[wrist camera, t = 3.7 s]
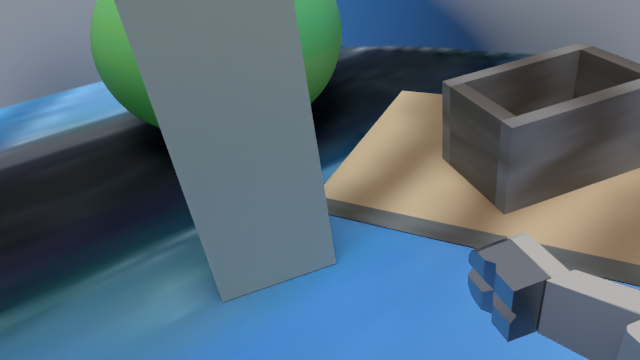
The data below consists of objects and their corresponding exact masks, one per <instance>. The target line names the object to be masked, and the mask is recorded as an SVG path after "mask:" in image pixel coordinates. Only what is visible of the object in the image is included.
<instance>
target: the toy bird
mask: <svg viewBox="0 0 640 360" xmlns="http://www.w3.org/2000/svg"><path fill="white" fill-rule="evenodd" d="M294 5H295V11H296V18H297V24H298V30H299V36H300V42H301V48H302V55H303V61H304V67H305V73H306V79H307V85H308V92H309V98H310V104H311V103H312V102H313V101H314V100H315V99H316V98H317V97H318V96H319V95H320V93H321V92H322V91H323V90H324V88H325V87H326V85H327V84H328V82H329V80H330V78H331V76H332V74H333V72H334V69H335V67H336V64H337V61H338V57H339V53H340V47H341V21H340V14H339V10H338V6H337V3H336V0H294ZM90 31H91V32H90V39H91V50H92V55H93V59H94V62H95V65H96V68H97V70H98V72H99V75H100V77H101V79H102V80H103V82H104V84H105V85H106V87H107V88H108V90H109V91H110V92H111V94H112V95H113V96H114V97H115V98H116V99H117V101H118V102H119V103H120V104H121V105H123V106H124V107H125V108H126V109H127V110H128V111H130V112H131V113H132V114H134V115H135V116H137V117H138V118H140V119H142V120H143V121H145V122H147V123H149V124H151V125H154V126H156V127H158V128H160V127H159V124H158V121H157V118H156V116H155V113H154V110H153V107H152V104H151V102H150V99H149V96H148V93H147V91H146V88H145V85H144V82H143V80H142V77H141V74H140V71H139V68H138V66H137V63H136V60H135V57H134V55H133V52H132V49H131V46H130V43H129V41H128V38H127V35H126V32H125V30H124V27H123V24H122V21H121V19H120V16H119V13H118V10H117V7H116V5H115V2H114V0H97V2H96V5H95V8H94V12H93V16H92V21H91V30H90Z"/></svg>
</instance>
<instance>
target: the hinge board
mask: <svg viewBox="0 0 640 360" xmlns="http://www.w3.org/2000/svg"><path fill="white" fill-rule="evenodd" d="M324 190H325V196H326V202H327V209H328V214H330V215H334V216H338V217H343V218H347V219H351V220H356V221H360V222H364V223H369V224H373V225H377V226H382V227H386V228H390V229H395V230H399V231H403V232H408V233H412V234H416V235H421V236H425V237H429V238H434V239H438V240H442V241H447V242H451V243H455V244H460V245H464V246H468V247H473V248H480V247H483V246H486V245H488V244H491V243H494V242H496V241H499V240H502V239H506V238H508V237H511V236H514V235H516V234H519V233H522V232H525V233H527V234H529V235H530V236H531V237H532V238H533V239H534V240H536V241H537V242H538V243H539V244H540V245H541V246H542V247H543V248H545V249H546V250H547V251H548V252H549V253H550V254H551V255H552V256H554V257H555V258H556V259H557V260H558V261H559V262H560V263H561V264H562V265H564V266H565V267H566V268H567V269H568V270H578V271H581V272H584V273H587V274H590V275H594V276H599V277H603V278H607V279H612V280H616V281H620V282H625V283H629V284H633V285H638V286H640V64H638V63H636V62H633V61H630V60H628V59H625V58H623V57H620V56H617V55H615V54H612V53H609V52H607V51H604V50H602V49H599V48H596V47H594V46H591V45H589V44H586V43H583V42H581V43H577V44H574V45H570V46H567V47H563V48H560V49H556V50H553V51H549V52H545V53H542V54H538V55H535V56H531V57H527V58H524V59H520V60H517V61H513V62H510V63H506V64H503V65H499V66H495V67H492V68H488V69H485V70H481V71H478V72H474V73H471V74H467V75H463V76H460V77H456V78H453V79H449V80H446V81H442V94H431V93H421V92H410V91H402V92H401V93H400V94H399V95H398V97H397V98H396V99H395V100H394V101H393V103H392V104H391V105H390V106H389V107H388V109H387V110H386V111H385V112H384V113H383V115H382V116H381V117H380V118H379V119H378V121H377V122H376V123H375V124H374V125H373V127H372V128H371V129H370V130H369V131H368V133H367V134H366V135H365V136H364V137H363V139H362V140H361V141H360V142H359V144H358V145H357V146H356V147H355V148H354V150H353V151H352V152H351V153H350V154H349V156H348V157H347V158H346V159H345V160H344V162H343V163H342V164H341V165H340V166H339V168H338V169H337V170H336V171H335V172H334V174H333V175H332V176H331V177H330V178H329V180H328V181H327V182H326V183H325V184H324Z"/></svg>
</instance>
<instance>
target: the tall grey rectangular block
mask: <svg viewBox="0 0 640 360" xmlns="http://www.w3.org/2000/svg"><path fill="white" fill-rule="evenodd" d="M114 2H115V5H116V7H117V10H118V13H119V16H120V19H121V21H122V24H123V27H124V30H125V32H126V35H127V38H128V41H129V43H130V46H131V49H132V52H133V55H134V57H135V60H136V63H137V66H138V68H139V71H140V74H141V77H142V80H143V82H144V85H145V88H146V91H147V93H148V96H149V99H150V102H151V104H152V107H153V110H154V113H155V116H156V118H157V121H158V124H159V127H160V129H161V132H162V135H163V138H164V141H165V143H166V146H167V149H168V152H169V154H170V157H171V160H172V163H173V165H174V168H175V171H176V174H177V177H178V179H179V182H180V185H181V188H182V190H183V193H184V196H185V199H186V202H187V204H188V207H189V210H190V213H191V215H192V218H193V221H194V224H195V226H196V229H197V232H198V235H199V238H200V240H201V243H202V246H203V249H204V251H205V254H206V257H207V260H208V263H209V265H210V268H211V271H212V274H213V276H214V279H215V282H216V285H217V287H218V290H219V293H220V296H221V299H222V301H223V302H225V301H228V300H231V299H234V298H237V297H240V296H242V295H245V294H248V293H251V292H254V291H257V290H260V289H263V288H266V287H269V286H272V285H275V284H278V283H281V282H283V281H286V280H289V279H292V278H295V277H298V276H301V275H304V274H307V273H310V272H313V271H316V270H319V269H321V268H324V267H327V266H330V265H333V264H336V258H335V252H334V246H333V239H332V233H331V227H330V221H329V215H328V209H327V202H326V196H325V190H324V184H323V178H322V172H321V165H320V159H319V153H318V147H317V141H316V135H315V129H314V122H313V116H312V110H311V104H310V98H309V92H308V85H307V79H306V73H305V67H304V61H303V55H302V48H301V42H300V36H299V30H298V24H297V18H296V11H295V5H294V0H114Z"/></svg>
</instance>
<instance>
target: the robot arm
mask: <svg viewBox="0 0 640 360" xmlns="http://www.w3.org/2000/svg"><path fill="white" fill-rule="evenodd" d="M469 263H470V265H471V266H472V267H473V268H472V270H471V271H470V273H469V274H468V286H469V289H470V293H471V295H472V297H473V299H474V300H475V302H476V303H477V305H478V306H479V307H480V309H482V310H484V311H486V312H489V313H491V314H492V323H493V325H494V326H495V327H496V328H497V329H498V331H499V332H500V333H501V334H502V336H503V337H504V338H505V339H506V340H507V342H509V341H512V340H514V339H517V338H520V337H523V336H525V335H528V334H531V333H533V332H536V331H538V333H539V334H541V335H543V336H545V337H547V338H549V339H551V340H553V341H555V342H557V343H558V344H560V345H562V346H564V347H566V348H568V349H570V350H572V351H574V352H576V353H578V354H579V355H581V356H583V357H585V358H587V359H589V360H640V290H636V289H633V288H630V287H627V286H624V285H621V284H618V283H615V282H612V281H609V280H606V279H603V278H600V277H597V276H594V275H590V274H587V273H584V272H581V271H578V270H572V271H569V270H568V269H567V268H566V267H565V266H564V265H562V264H561V263H560V262H559V261H558V260H557V259H556V258H555V257H554V256H552V255H551V254H550V253H549V252H548V251H547V250H546V249H545V248H543V247H542V246H541V245H540V244H539V243H538V242H537V241H536V240H534V239H533V238H532V237H531V236H530V235H529V234H527V233H525V232H522V233H519V234H516V235H514V236H511V237H508V238H506V239H502V240H499V241H496V242H494V243H491V244H488V245H486V246H483V247H480V248H477V249H475V250H472V251H471V252H470V254H469Z"/></svg>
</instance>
